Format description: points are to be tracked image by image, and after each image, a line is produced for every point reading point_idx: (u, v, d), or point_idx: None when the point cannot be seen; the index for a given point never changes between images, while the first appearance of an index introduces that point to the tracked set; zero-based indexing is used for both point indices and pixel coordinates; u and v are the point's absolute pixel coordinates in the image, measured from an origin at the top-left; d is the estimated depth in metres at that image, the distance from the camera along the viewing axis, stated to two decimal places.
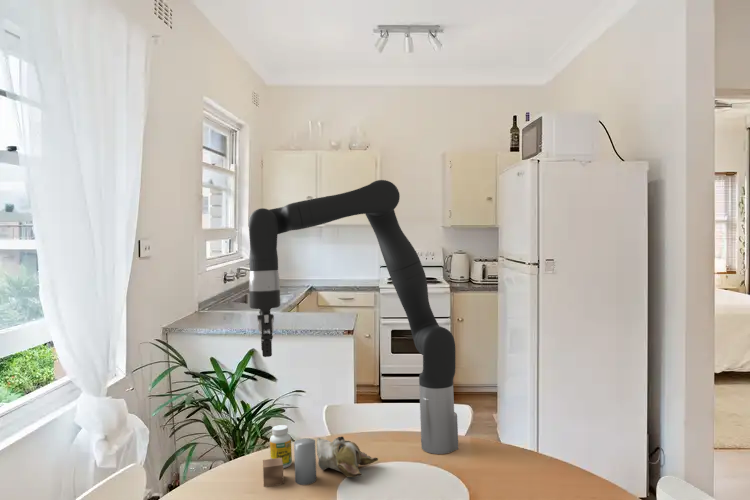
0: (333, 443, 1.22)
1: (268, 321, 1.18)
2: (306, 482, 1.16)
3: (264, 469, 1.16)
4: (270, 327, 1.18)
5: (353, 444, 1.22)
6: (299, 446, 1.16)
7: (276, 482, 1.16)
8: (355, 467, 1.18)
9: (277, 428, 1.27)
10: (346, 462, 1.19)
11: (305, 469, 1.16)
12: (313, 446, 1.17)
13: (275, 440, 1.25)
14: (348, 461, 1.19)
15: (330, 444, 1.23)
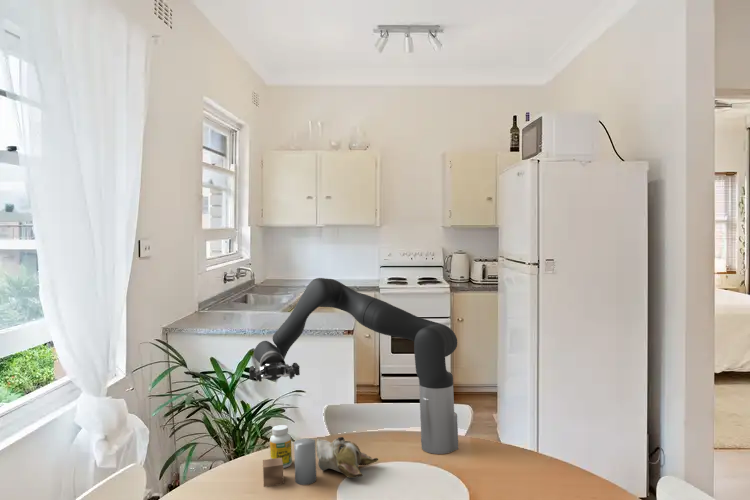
0: (333, 444, 1.22)
1: None
2: (306, 482, 1.16)
3: (264, 469, 1.16)
4: None
5: (353, 444, 1.22)
6: (299, 446, 1.16)
7: (276, 482, 1.16)
8: (356, 467, 1.18)
9: (277, 428, 1.27)
10: (346, 463, 1.18)
11: (305, 469, 1.16)
12: (313, 446, 1.17)
13: (275, 440, 1.25)
14: (348, 461, 1.19)
15: (330, 445, 1.23)
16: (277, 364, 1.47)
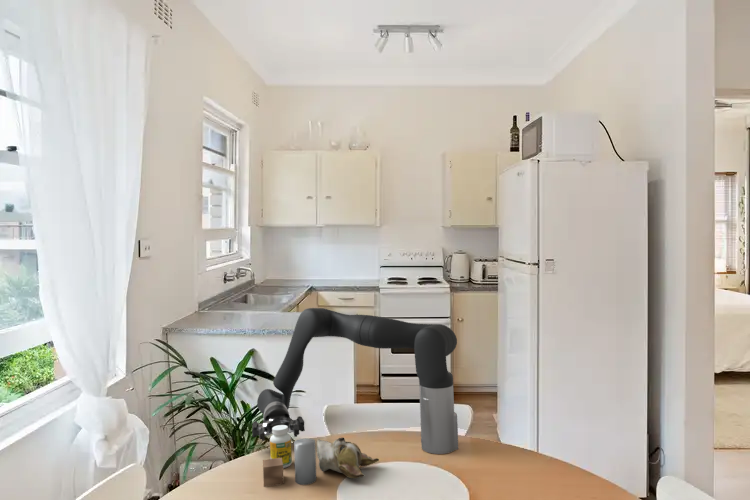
0: (334, 444, 1.22)
1: None
2: (306, 482, 1.16)
3: (264, 469, 1.16)
4: None
5: (354, 445, 1.22)
6: (299, 446, 1.16)
7: (276, 482, 1.16)
8: (357, 468, 1.18)
9: (277, 428, 1.27)
10: (347, 463, 1.18)
11: (305, 469, 1.16)
12: (313, 446, 1.17)
13: (275, 440, 1.25)
14: (349, 462, 1.18)
15: (331, 445, 1.23)
16: (281, 419, 1.41)
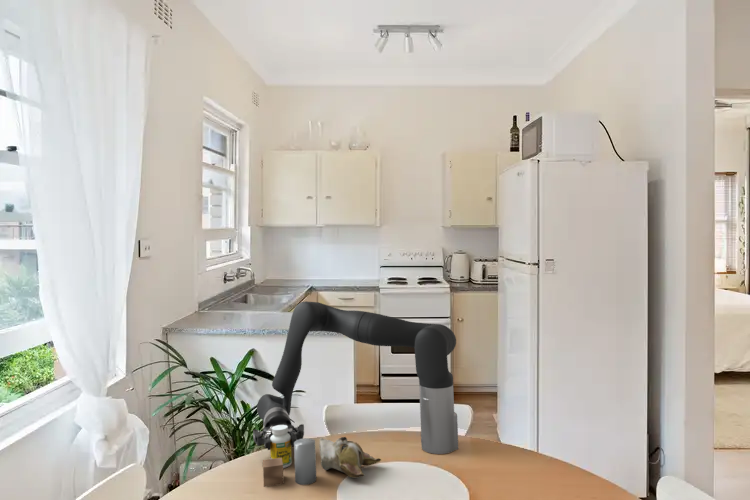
0: (336, 443, 1.22)
1: (254, 434, 1.32)
2: (306, 482, 1.16)
3: (264, 469, 1.16)
4: (255, 434, 1.30)
5: (356, 444, 1.22)
6: (299, 446, 1.16)
7: (276, 482, 1.16)
8: (358, 468, 1.18)
9: (277, 428, 1.27)
10: (348, 463, 1.18)
11: (305, 469, 1.16)
12: (313, 446, 1.17)
13: (275, 440, 1.25)
14: (350, 461, 1.19)
15: (333, 444, 1.23)
16: None
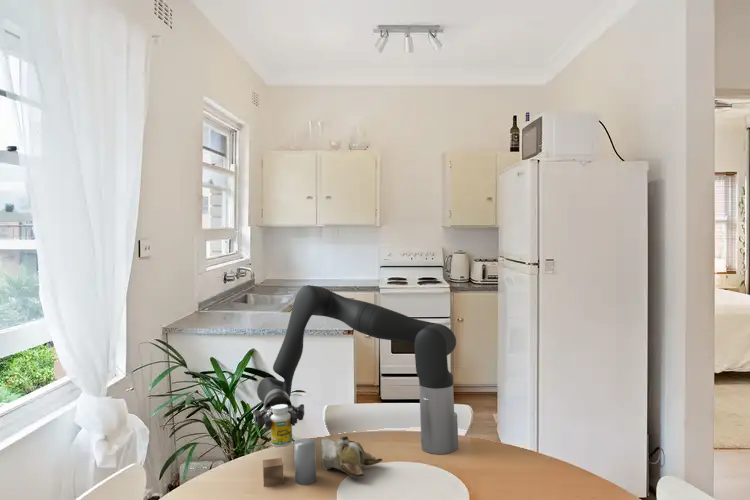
0: (337, 443, 1.22)
1: (254, 414, 1.32)
2: (306, 482, 1.16)
3: (264, 469, 1.16)
4: (255, 414, 1.30)
5: (357, 444, 1.22)
6: (299, 446, 1.16)
7: (276, 482, 1.16)
8: (358, 467, 1.18)
9: (277, 407, 1.27)
10: (349, 462, 1.19)
11: (305, 469, 1.16)
12: (313, 446, 1.17)
13: (275, 418, 1.25)
14: (351, 461, 1.19)
15: (334, 444, 1.23)
16: None
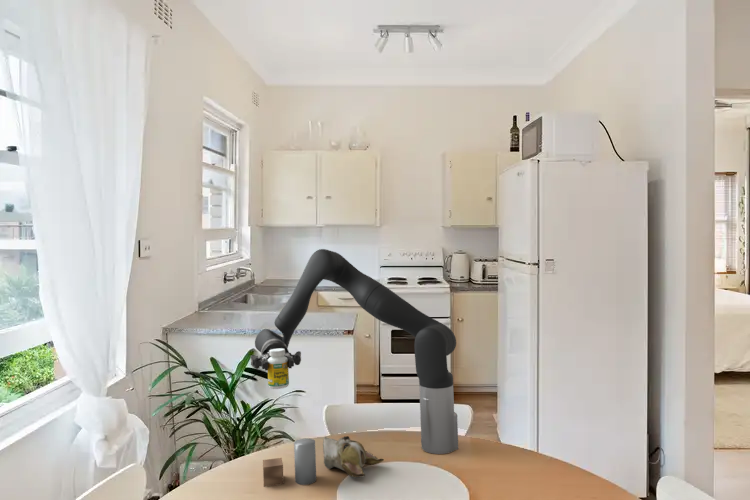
0: (338, 442, 1.23)
1: (251, 359, 1.33)
2: (306, 482, 1.16)
3: (264, 469, 1.16)
4: (252, 358, 1.32)
5: (358, 444, 1.22)
6: (299, 446, 1.16)
7: (276, 482, 1.16)
8: (359, 467, 1.18)
9: (274, 350, 1.28)
10: (350, 462, 1.19)
11: (305, 469, 1.16)
12: (313, 446, 1.17)
13: (272, 361, 1.27)
14: (352, 460, 1.19)
15: (336, 443, 1.24)
16: None
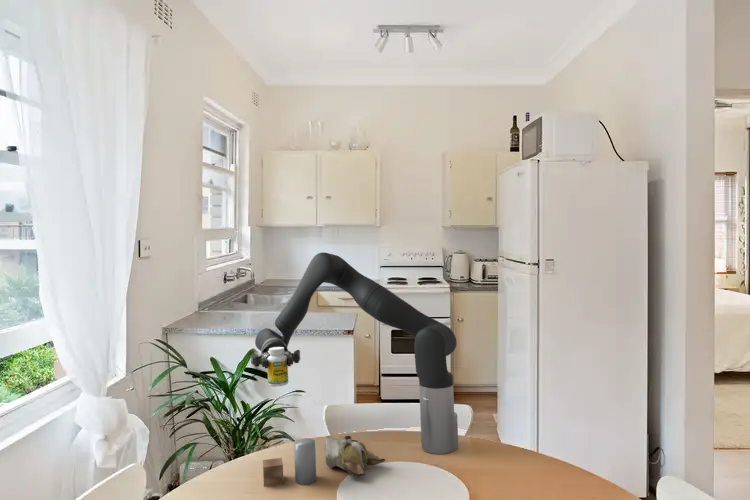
0: (340, 442, 1.23)
1: (251, 357, 1.36)
2: (306, 482, 1.16)
3: (264, 469, 1.16)
4: (252, 357, 1.35)
5: (359, 444, 1.22)
6: (299, 446, 1.16)
7: (276, 482, 1.16)
8: (360, 467, 1.18)
9: (274, 348, 1.31)
10: (351, 461, 1.19)
11: (305, 469, 1.16)
12: (313, 446, 1.17)
13: (272, 359, 1.30)
14: (353, 460, 1.19)
15: (337, 443, 1.24)
16: None
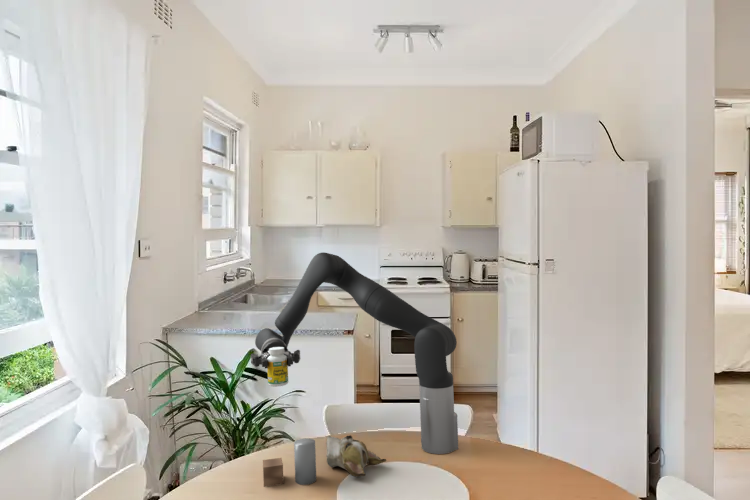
0: (341, 441, 1.23)
1: (251, 357, 1.36)
2: (306, 482, 1.16)
3: (264, 469, 1.16)
4: (252, 357, 1.35)
5: (360, 444, 1.22)
6: (299, 446, 1.16)
7: (276, 482, 1.16)
8: (360, 467, 1.18)
9: (274, 348, 1.31)
10: (351, 461, 1.19)
11: (305, 469, 1.16)
12: (313, 446, 1.17)
13: (272, 359, 1.30)
14: (353, 460, 1.19)
15: (339, 442, 1.24)
16: None
